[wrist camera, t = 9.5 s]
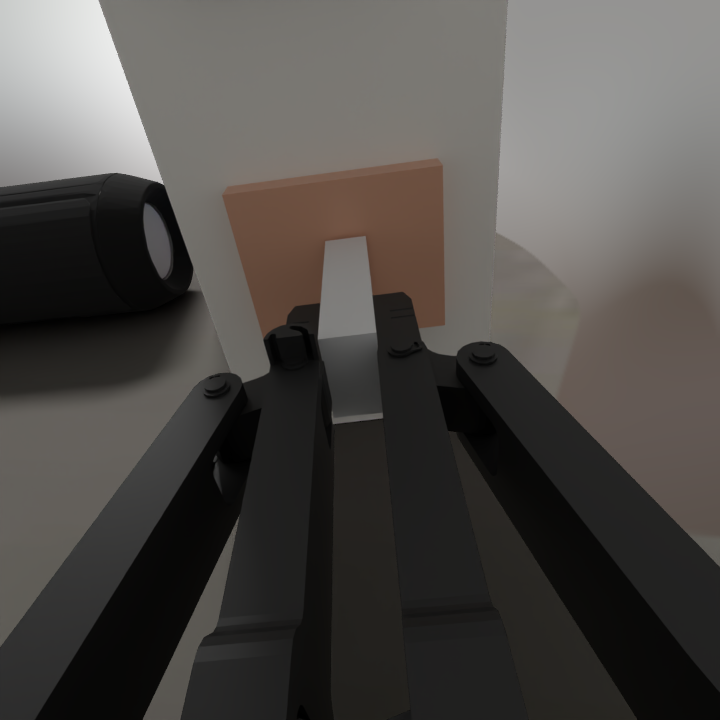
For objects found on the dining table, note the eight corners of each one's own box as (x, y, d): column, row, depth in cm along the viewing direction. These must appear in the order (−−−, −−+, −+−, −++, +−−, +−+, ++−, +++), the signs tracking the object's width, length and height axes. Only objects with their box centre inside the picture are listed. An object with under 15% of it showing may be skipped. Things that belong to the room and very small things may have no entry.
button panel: (252, 433, 24) (-283, -1076, 7) (266, 364, 29) (-23, -616, 12) (486, 406, 24) (575, -1283, 6) (460, 340, 29) (470, -715, 11)
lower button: (265, 347, 20) (221, 194, 16) (281, 274, 26) (251, 148, 22) (445, 325, 20) (442, 165, 16) (420, 256, 25) (414, 126, 22)
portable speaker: (208, 272, 42) (168, 153, 36) (172, 333, 34) (113, 193, 28) (-58, 301, 44) (-138, 193, 38) (-152, 366, 36) (-271, 241, 30)
